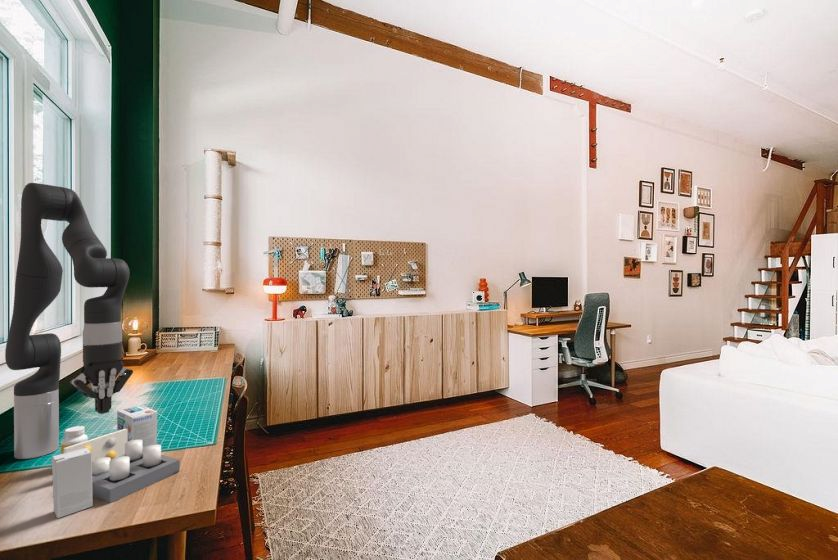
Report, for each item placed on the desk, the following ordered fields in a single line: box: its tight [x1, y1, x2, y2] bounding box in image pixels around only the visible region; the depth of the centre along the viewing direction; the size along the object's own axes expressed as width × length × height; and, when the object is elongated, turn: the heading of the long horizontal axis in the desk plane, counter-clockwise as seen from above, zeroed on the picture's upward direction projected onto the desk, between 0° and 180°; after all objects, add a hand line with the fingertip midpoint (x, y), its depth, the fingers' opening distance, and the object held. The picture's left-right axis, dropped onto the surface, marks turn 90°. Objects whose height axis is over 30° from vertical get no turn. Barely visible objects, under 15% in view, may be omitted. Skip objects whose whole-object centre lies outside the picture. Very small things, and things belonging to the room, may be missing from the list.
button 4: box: [143, 444, 162, 467], centre depth 102 cm, size 4×4×4 cm
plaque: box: [64, 429, 128, 462], centre depth 106 cm, size 1×14×8 cm, turn 155°
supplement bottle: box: [60, 425, 89, 454], centre depth 108 cm, size 5×5×10 cm
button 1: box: [92, 457, 111, 477], centre depth 99 cm, size 4×4×4 cm
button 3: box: [125, 440, 143, 461], centre depth 106 cm, size 4×4×4 cm
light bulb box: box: [116, 404, 158, 448], centre depth 119 cm, size 11×7×11 cm, turn 55°
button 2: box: [109, 456, 130, 481], centre depth 96 cm, size 4×4×4 cm
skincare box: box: [51, 448, 94, 519], centre depth 87 cm, size 6×4×12 cm
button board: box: [92, 454, 181, 504], centre depth 101 cm, size 16×16×3 cm
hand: (103, 412), depth 99 cm, fingers closed
